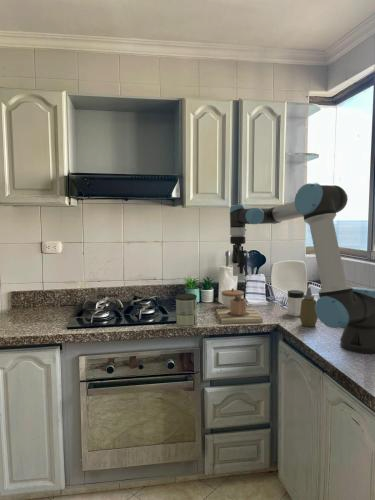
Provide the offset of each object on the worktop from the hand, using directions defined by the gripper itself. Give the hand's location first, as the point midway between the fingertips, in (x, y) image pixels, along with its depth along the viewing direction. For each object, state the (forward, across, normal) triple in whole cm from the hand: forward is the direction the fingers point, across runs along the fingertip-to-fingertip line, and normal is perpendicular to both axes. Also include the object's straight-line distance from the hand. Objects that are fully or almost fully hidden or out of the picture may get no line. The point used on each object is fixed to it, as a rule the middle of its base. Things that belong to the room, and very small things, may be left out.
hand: (238, 277), depth 183 cm
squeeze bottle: (+21, -17, -30) cm, 40 cm away
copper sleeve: (+18, 0, 0) cm, 18 cm away
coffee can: (+21, -9, +27) cm, 35 cm away
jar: (+21, +3, -31) cm, 37 cm away
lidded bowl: (+21, +21, -1) cm, 30 cm away
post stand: (+21, 0, 0) cm, 21 cm away
